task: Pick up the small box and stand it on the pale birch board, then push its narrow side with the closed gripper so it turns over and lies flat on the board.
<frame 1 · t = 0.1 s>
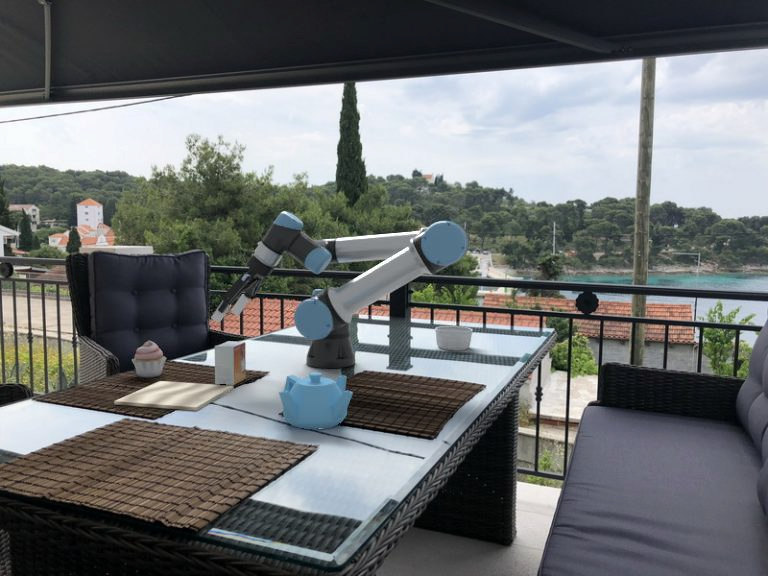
hand: (225, 316, 188), 15 cm above the table, tool tilted 35°, fingers open, 13 cm apart
small box: (230, 382, 173), on the table
cupcake: (149, 376, 179), on the table
ramekin: (453, 348, 226), on the table
birch board: (176, 396, 157), on the table
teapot: (316, 422, 139), on the table
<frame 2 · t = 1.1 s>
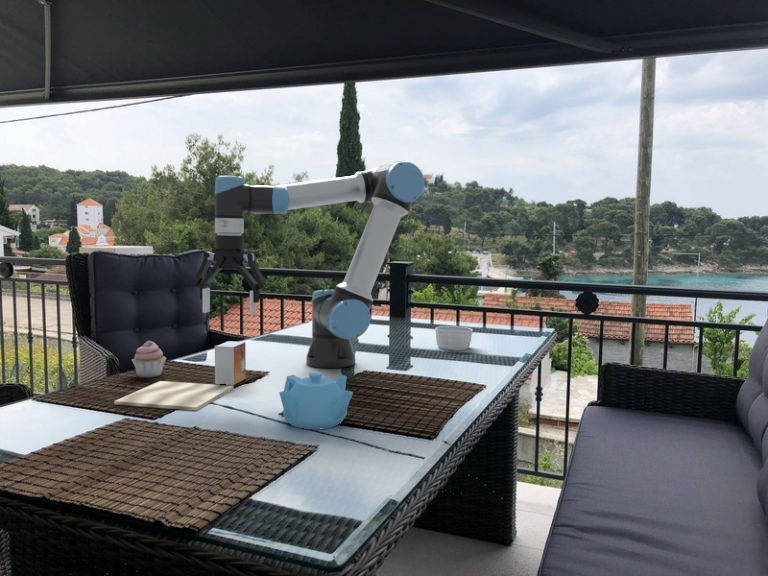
hand: (229, 313, 171), 19 cm above the table, tool pointing down, fingers open, 13 cm apart
nothing on the table moved.
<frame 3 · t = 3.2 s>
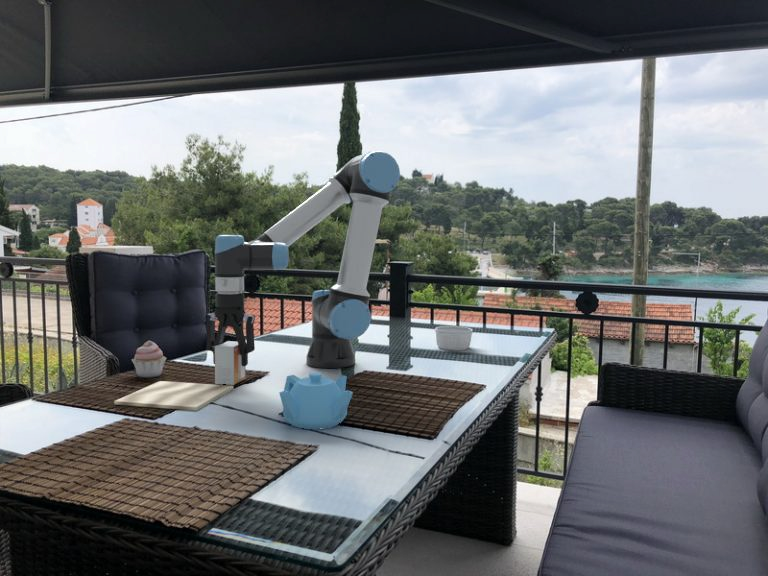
hand: (230, 376, 173), 1 cm above the table, tool pointing down, fingers closed on small box, 6 cm apart
small box: (230, 382, 173), on the table, touching gripper
everything else where it was.
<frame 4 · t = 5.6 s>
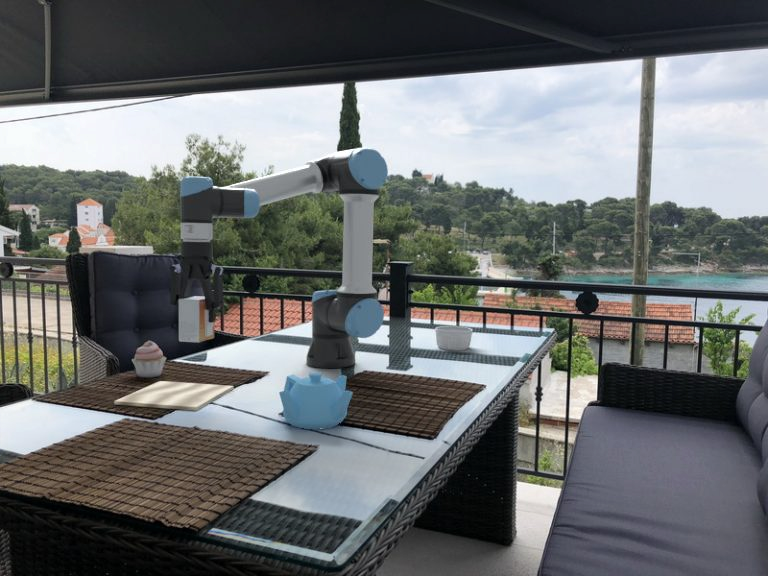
hand: (196, 334, 157), 15 cm above the table, tool pointing down, fingers closed on small box, 6 cm apart
small box: (196, 340, 157), point 14 cm above the table, touching gripper
everything else where it was.
when the fingers open (4 cm above the table, at t = 8.2 s): small box drops 1 cm, resting on birch board.
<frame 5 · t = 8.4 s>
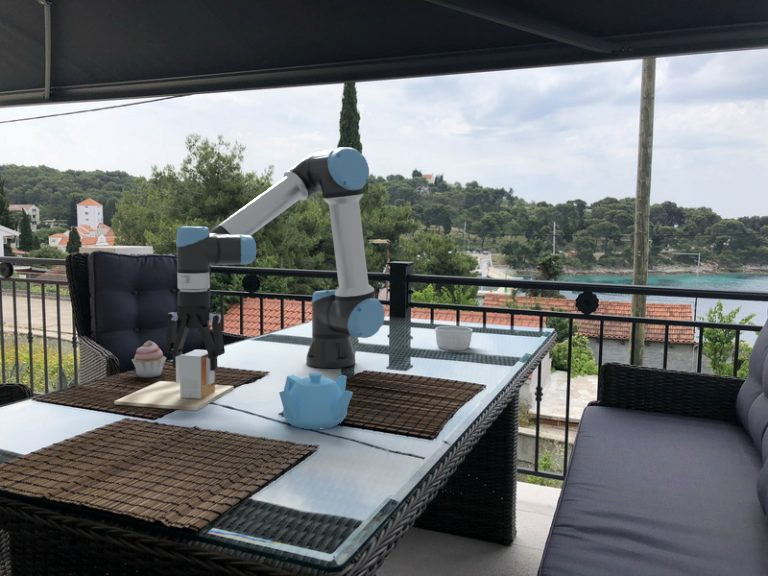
hand: (195, 382, 156), 4 cm above the table, tool pointing down, fingers open, 7 cm apart
small box: (198, 395, 156), point 1 cm above the table, touching birch board, gripper
everything else where it was.
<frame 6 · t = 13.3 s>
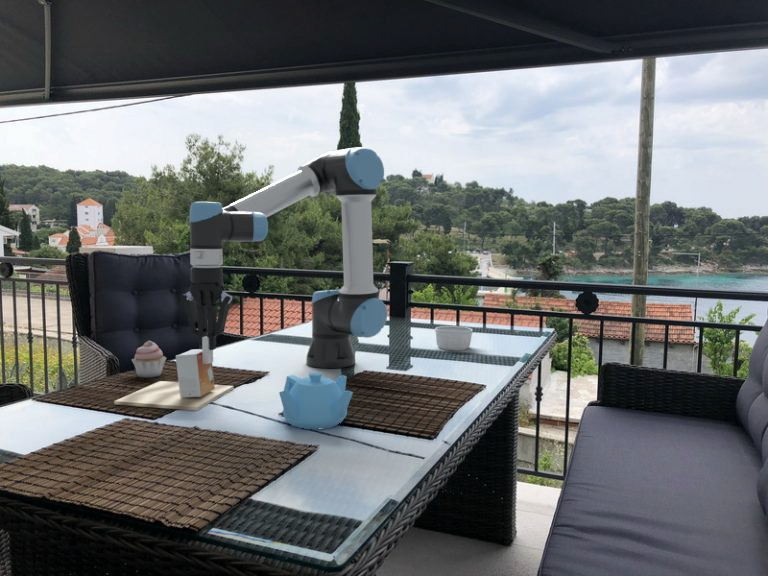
hand: (207, 362, 155), 9 cm above the table, tool pointing down, fingers closed
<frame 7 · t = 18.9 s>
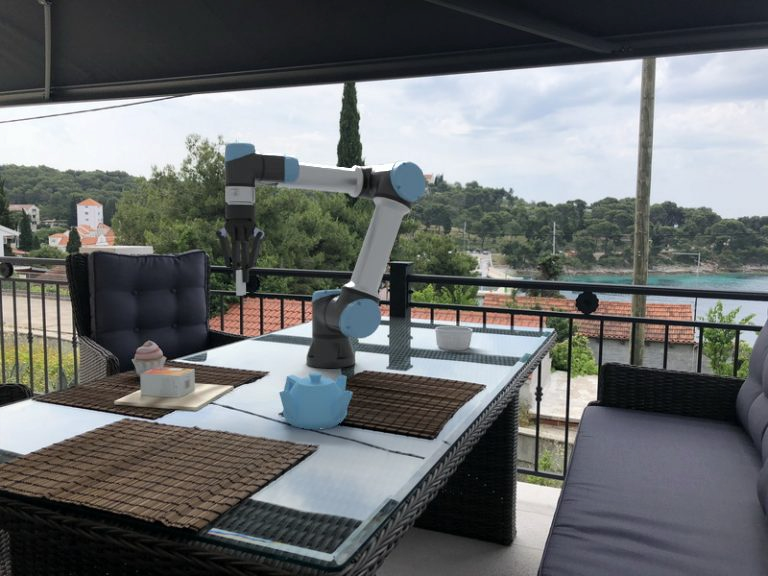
hand: (241, 294, 165), 24 cm above the table, tool pointing down, fingers closed
small box: (188, 383, 156), point 4 cm above the table, touching birch board
everything else where it was.
at the end: small box tilted 90°; small box inside the target area on the birch board (3.3 cm from its centre), point 3.5 cm above the birch board's base; small box touching birch board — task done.
